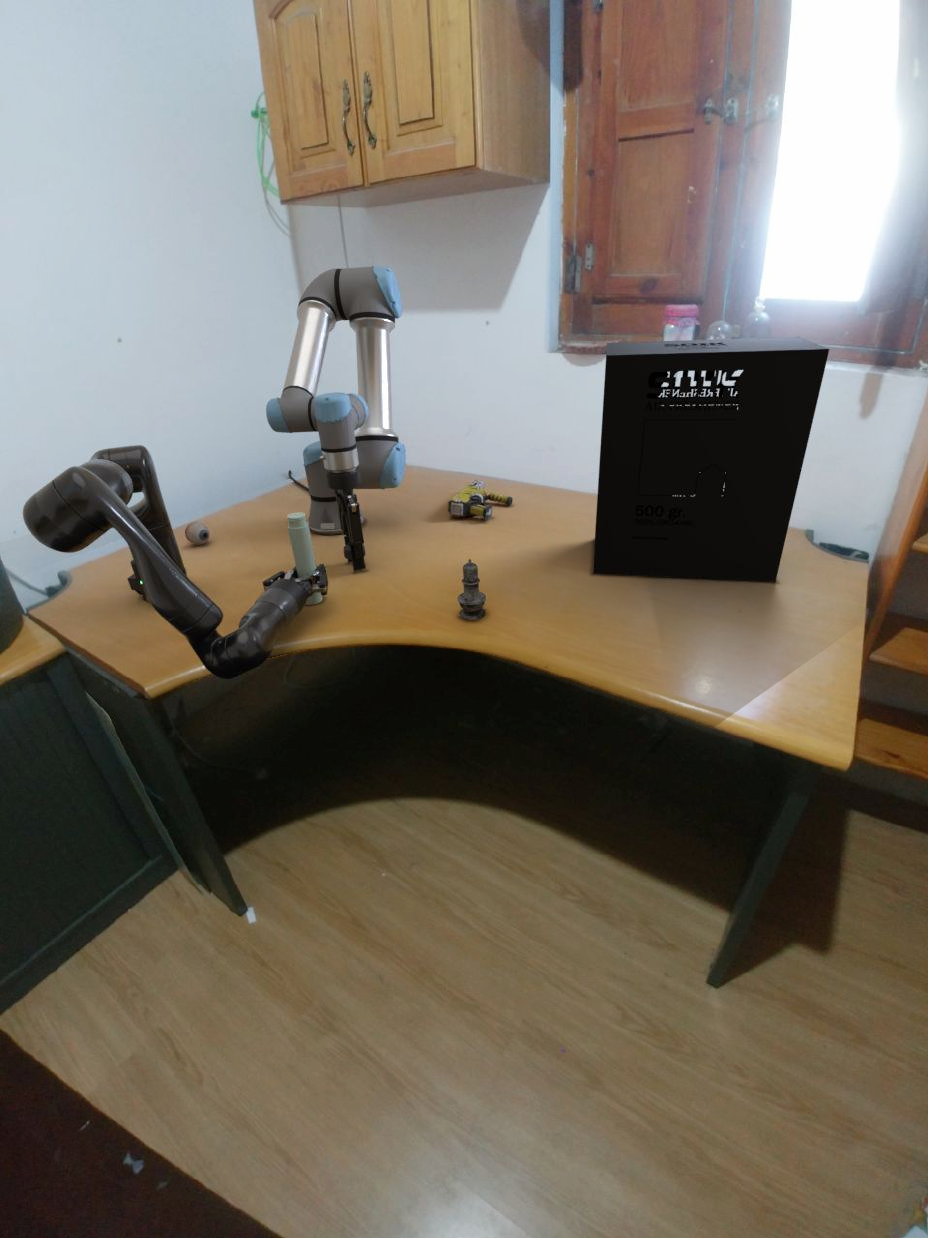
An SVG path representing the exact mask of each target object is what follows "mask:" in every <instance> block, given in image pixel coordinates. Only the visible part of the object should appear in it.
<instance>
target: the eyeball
mask: <svg viewBox="0 0 928 1238" xmlns="http://www.w3.org/2000/svg"><path fill="white" fill-rule="evenodd" d="M210 534H211V532H210V529H209V527H208V526H207V525H206V524H205V523H203V522H200V521H194V522H191V523H189V524H188V525H187V526H186V527H185V530H184V535H185V539H186V540H187V541H188V542H190V544H193V545H195V546H197V545H198V546H200V545H203V544H206V543H207V542H208V541H209V539H210V536H211V535H210Z"/></svg>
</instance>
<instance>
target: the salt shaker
mask: <svg viewBox="0 0 928 1238" xmlns="http://www.w3.org/2000/svg"><path fill="white" fill-rule="evenodd" d="M478 567H479V566H478V564H476V563H474V562H473V561H472V559H471V558H469V559H468V561H467V562H466V563H465V564H463V566H462V577H463V578H462V579H461V583H462V585H463V592H461V593H460V594H458V596H457V597H456V601H457V602H458V604H459V607H460V608H461V609H460V611H459V617H460V618H461V619H464V620H466V621H467V620H468V621H476V620H480V619H482V618H484V617H485V616H486V614H487V613H486V610H485V609H484V606H485V604H486V601H487V595H486V593H484V592H482V591H480V587H479V586H480V583H481V578H480V577H479V568H478Z"/></svg>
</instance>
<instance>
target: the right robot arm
mask: <svg viewBox="0 0 928 1238" xmlns="http://www.w3.org/2000/svg"><path fill="white" fill-rule="evenodd" d="M298 301H299V302H298V305H297V309H296V317H297V320H298V324H297V328H296V333H295V336H294V341H293V346H292V349H291V354H290V359H289V363H288V367H287V370H286V375H285V380H284V383H283V388H282V392H281V395H280V397H275V398H274V397H273V398H271V399H269V400H268V401H267V403H266V407H265V415H266V421H267V424H268V425H269V427H270V429H271V430H272V431H274V432H276V433H283V434H285V433H286V434H293V433H318V437H319V440H318V441H314V442H312V443H309V444H308V445H307V446H305V447H304V448H303V450H302V457H303V459H302V460H303V467H304V471H305V477H306V482H307V486H308V487H307V486H306V485H304V484H302V483H301V482H299V481H297V479H295V478H294V477H293V476H292V470H291V469H289V470H288V477H289V479H290V480H291V481H292V482H294V483H295V484H296V485H298V486H299V487H301V488H302V489H305V490H306V491H307V492H309V498H310V507H309V513H308V522H307V523H308V525H309V530H310V532H312V533H314V534H317V535H323V536H324V535H325V536H327V535H329V536H331V535H339V534H340V535H341V534H343V539H344V540H343V541H344V546H345V545H348V546H350V550H351V556H352V560H349V559H347V562H348V563H352V569H353V572H356V571H362V570H365V569H366V562H365V556H364V554H363V548H362V544H364V545H365V540H364V534H363V527H362V526H363V525H364V523H365V519H364V514H363V512H362V510H361V508H360V502H358V496H357V493H354V490H386V489H387V490H388V489H395V488H398V487H400V485H401V484H402V481H403V480H404V476H405V472H406V464H407V454H406V446H405V444H404V443H402V442H400V439H399V435H398V434H397V433H396V432H395V431H394V429H393V404H392V403H393V402H392V401H393V400H392V399H393V398H392V374H391V373H392V371H391V339H390V338H391V336H390V334H391V332H393V330H394V329H395V328H396V319H397V320H398V319H400V318H401V317H402V316H403V314H402V313H403V306H402V298H401V292H400V289H399V284H398V280H397V278H396V275H395V273H394V271H393V270H392V269H391V267H389V266H385V265H384V266H378V265H372V266H360V267H359V266H358V267H345V268H344V267H343V268H330V269H328V270H325V271H323V272H322V273H320V274H318V276H316V277H315V278H314V279H312V281H311V282H310V283H309V284H308V285H307V287H306V288H305V290H304V292H303V293H302V295H301V296H300V299H299V300H298ZM340 321H348V324H349V327H350V328H351V329H352V330H353V331H354V333H355V345H356V346H355V347H356V348H355V350H356V351H355V352H356V373H357V393H353V392H349V393H345V392H339V391H338V392H327V393H326V392H325V393H322V394H318V395H317V392H318V388H319V383H320V378H321V374H322V369H323V365H324V364H323V363H324V359H325V355H326V351H327V346H328V342H329V336H330V333H331V332H332V331H333V330H334V329H335V327H336V324H337V322H340ZM357 430H358V431H357ZM355 431H357V432H356V433H355Z"/></svg>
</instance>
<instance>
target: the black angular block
mask: <svg viewBox="0 0 928 1238" xmlns="http://www.w3.org/2000/svg"><path fill="white" fill-rule="evenodd" d="M605 351H606V352H605V367H604V369H605V370H604V383H603V384H604V385H603V399H602V400H603V401H602V415H601V431H600V433H601V434H600V448H599V465H598V481H597V497H596V511H595V512H596V514H595V529H594V531H595V532H594V547H593V548H594V550H593V566H592V575H608V576H628V577H629V576H631V577H654V578H655V577H656V578H675V579H676V578H677V579H678V578H679V579H701V580H702V579H703V580H724V581H725V580H726V581H747V582H770V583H776V582H777V577H778V573H779V568H780V565H781V560H782V556H783V552H784V547H785V543H786V538H787V534H788V531H789V530H788V529H789V525H790V521H791V518H792V517H791V516H792V514H793V513H792V512H793V508H794V504H795V500H796V496H797V491H798V488H799V482H800V477H801V474H802V470H803V465H804V460H805V456H806V453H807V448H808V444H809V440H810V435H811V431H812V427H813V422H814V418H815V414H816V409H817V405H818V400H819V397H820V391H821V387H822V383H823V380H824V379H823V378H824V375H825V370H826V366H827V363H828V362H827V361H828V358H829V353H830V348H828V347H826V346H824V345H820V344H819V343H815V342H813V341H811V340H808V339H805V338H803V337H800V336H780V337H778V336H775V337H749V338H748V337H747V338H745V337H744V338H721V339H720V338H717V339H716V338H715V339H689V340H688V339H687V340H684V339H683V340H657V341H655V340H654V341H628V342H627V341H626V342H624V341H623V342H607V343H606V349H605ZM720 371H721V372H720ZM737 371H742V372H740V374H739V375H734V374H735V373H736V372H737ZM678 372H682V376H681V377H680V382H679V385H677V386H676V382H677V377H676V374H677V373H678ZM689 372H694V373H693V382H695V385H691V384H692V376H689ZM702 372H705V375H704V376H702V374H703V373H702ZM719 375H720V379H719ZM724 375H725V377H724ZM723 378H724V382H734V383H733V385H725V384H723ZM705 382H710V385H704V384H705ZM664 383H665V384H666V383H667V386H663V385H664Z"/></svg>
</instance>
